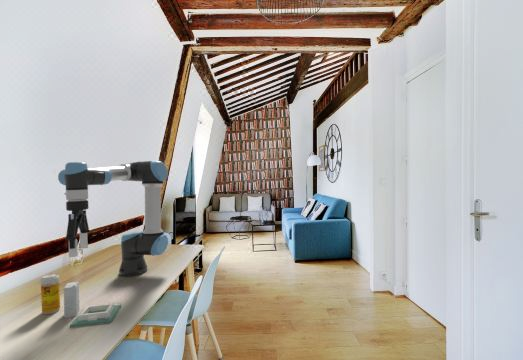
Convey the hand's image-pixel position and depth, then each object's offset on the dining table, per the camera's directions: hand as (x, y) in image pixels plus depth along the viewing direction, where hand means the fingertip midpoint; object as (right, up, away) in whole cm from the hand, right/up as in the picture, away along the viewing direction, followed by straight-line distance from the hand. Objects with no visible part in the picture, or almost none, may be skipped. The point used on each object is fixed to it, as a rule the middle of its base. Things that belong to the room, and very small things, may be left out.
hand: (79, 252), depth 112 cm
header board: (+9, -25, -3) cm, 27 cm away
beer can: (-13, -26, +3) cm, 29 cm away
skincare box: (-3, -26, 0) cm, 26 cm away
